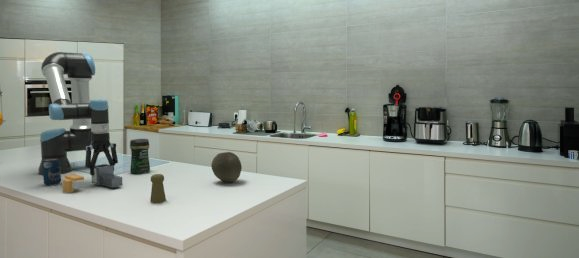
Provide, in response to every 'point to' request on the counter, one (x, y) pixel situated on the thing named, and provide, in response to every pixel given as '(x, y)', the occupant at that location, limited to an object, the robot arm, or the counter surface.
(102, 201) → the counter surface
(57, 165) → the soda can
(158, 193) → the cork
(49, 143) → the robot arm
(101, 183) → the link
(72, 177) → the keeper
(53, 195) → the counter surface
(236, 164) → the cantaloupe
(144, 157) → the coffee jar
